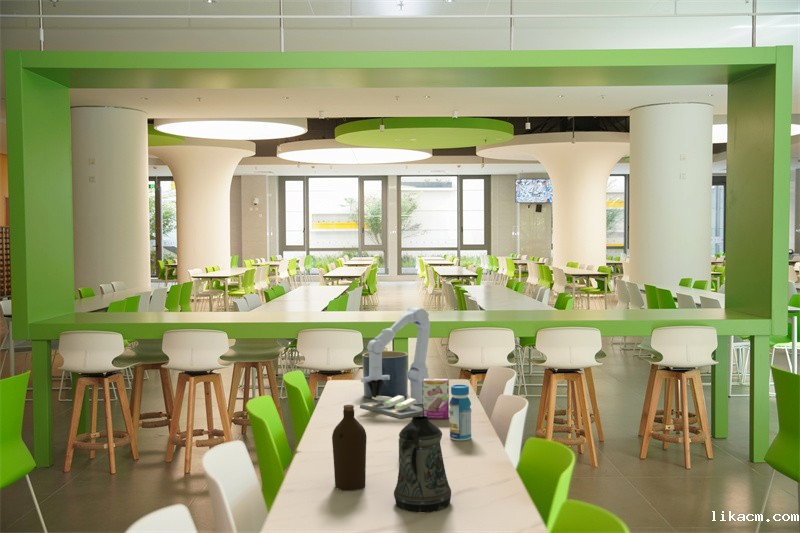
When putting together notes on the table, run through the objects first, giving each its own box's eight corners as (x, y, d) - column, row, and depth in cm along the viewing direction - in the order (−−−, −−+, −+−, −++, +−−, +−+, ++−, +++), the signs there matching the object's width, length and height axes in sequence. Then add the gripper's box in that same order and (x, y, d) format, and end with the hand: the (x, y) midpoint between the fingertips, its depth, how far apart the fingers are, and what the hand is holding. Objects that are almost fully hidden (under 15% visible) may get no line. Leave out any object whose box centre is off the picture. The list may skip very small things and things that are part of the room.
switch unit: (388, 402, 365) (388, 396, 365) (429, 412, 341) (429, 406, 341) (360, 407, 355) (360, 401, 355) (400, 418, 331) (400, 412, 331)
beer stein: (448, 493, 233) (447, 410, 233) (455, 516, 214) (454, 425, 213) (393, 494, 233) (391, 411, 232) (395, 517, 214) (393, 427, 213)
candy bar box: (422, 419, 329) (421, 380, 329) (423, 416, 334) (422, 378, 334) (449, 419, 328) (448, 380, 328) (449, 416, 333) (448, 378, 333)
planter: (356, 398, 374) (355, 357, 373) (371, 390, 395) (370, 350, 394) (401, 401, 367) (400, 358, 367) (413, 391, 389) (413, 351, 388)
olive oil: (368, 490, 237) (366, 408, 236) (333, 492, 236) (331, 410, 235) (366, 479, 248) (364, 401, 247) (332, 481, 247) (331, 402, 246)
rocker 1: (387, 400, 359) (388, 396, 359) (392, 401, 356) (393, 397, 356) (371, 398, 353) (372, 394, 353) (377, 399, 350) (377, 395, 350)
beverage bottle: (470, 441, 292) (469, 388, 291) (448, 440, 294) (447, 387, 293) (473, 435, 300) (472, 384, 300) (451, 435, 302) (450, 383, 301)
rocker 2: (399, 398, 352) (398, 394, 352) (404, 399, 349) (404, 396, 349) (383, 405, 347) (383, 402, 347) (389, 407, 344) (388, 403, 343)
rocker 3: (411, 401, 345) (410, 397, 345) (416, 402, 342) (416, 398, 342) (395, 408, 340) (394, 405, 340) (401, 410, 337) (400, 406, 337)
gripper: (383, 364, 359) (383, 393, 360) (357, 367, 350) (357, 397, 351) (392, 366, 354) (392, 396, 354) (366, 369, 345) (366, 399, 345)
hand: (375, 396), depth 352 cm, fingers closed, pressing on rocker 1
